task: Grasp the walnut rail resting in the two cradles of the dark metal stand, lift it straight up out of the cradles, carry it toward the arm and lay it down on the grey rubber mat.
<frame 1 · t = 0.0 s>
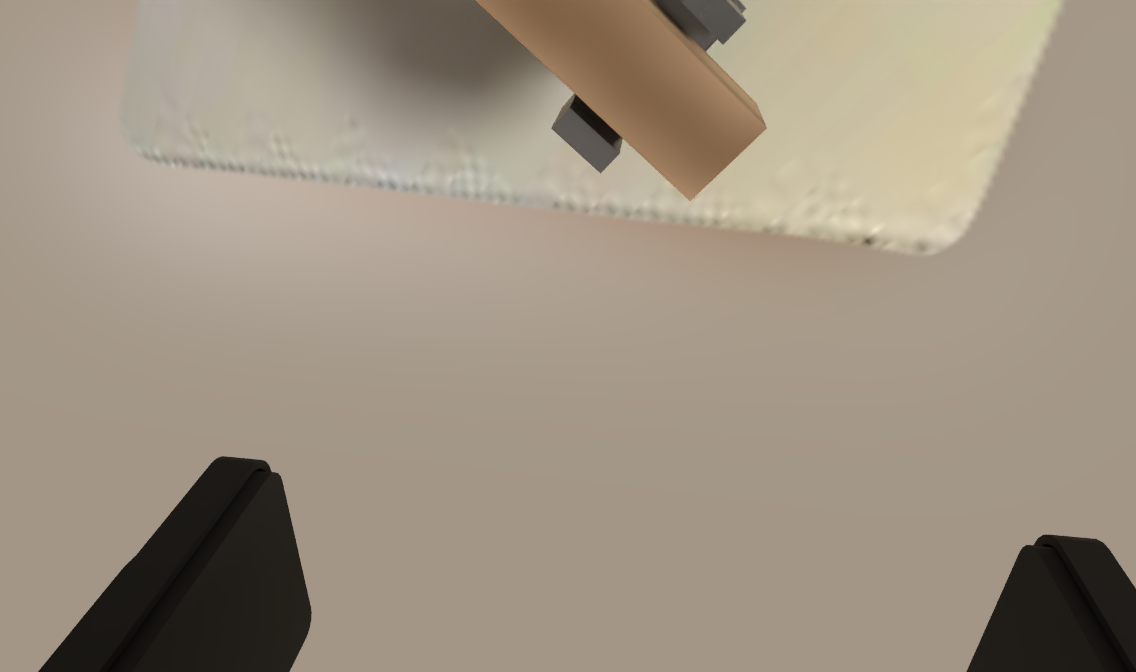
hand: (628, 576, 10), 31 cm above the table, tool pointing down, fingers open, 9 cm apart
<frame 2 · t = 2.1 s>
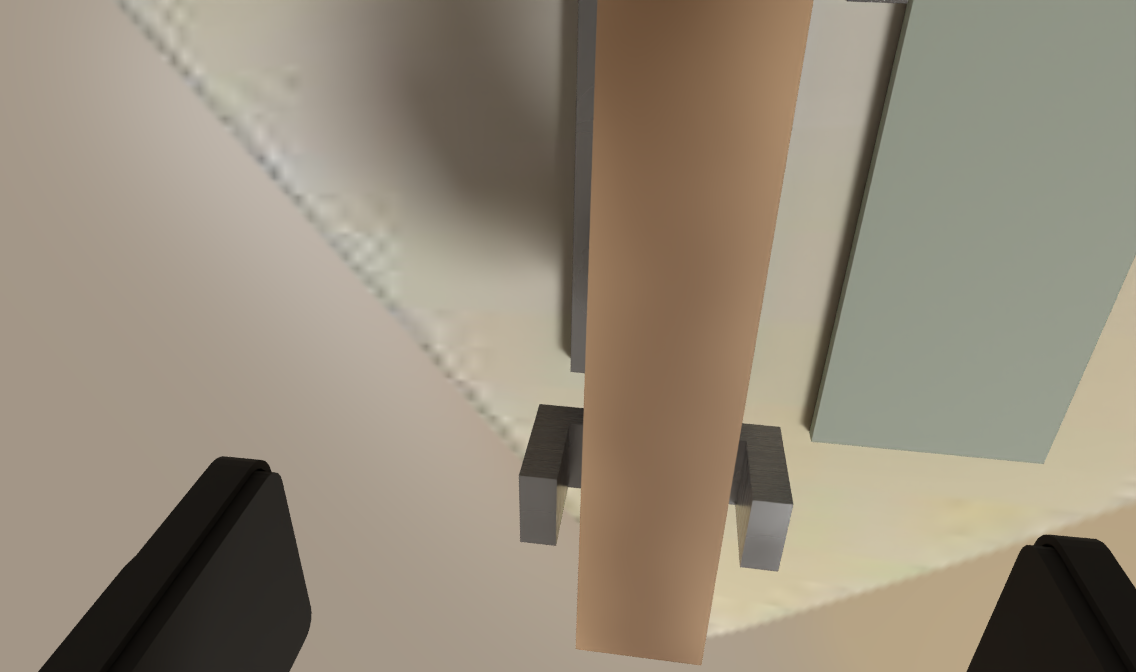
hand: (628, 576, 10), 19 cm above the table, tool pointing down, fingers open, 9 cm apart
rail: (675, 243, 18), point 9 cm above the table, touching stand
mat: (1015, 157, 25), on the table
stand: (679, 138, 26), on the table
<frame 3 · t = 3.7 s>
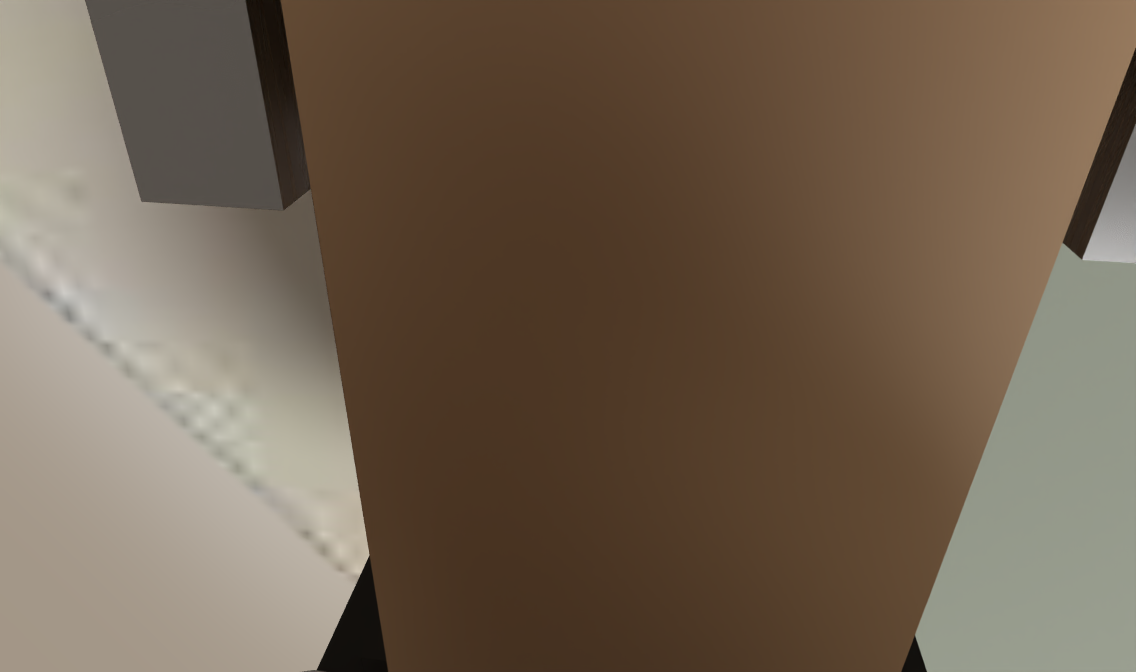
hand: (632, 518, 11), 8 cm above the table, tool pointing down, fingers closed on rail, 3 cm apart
rail: (628, 581, 10), point 9 cm above the table, touching gripper, stand
stand: (647, 279, 17), on the table
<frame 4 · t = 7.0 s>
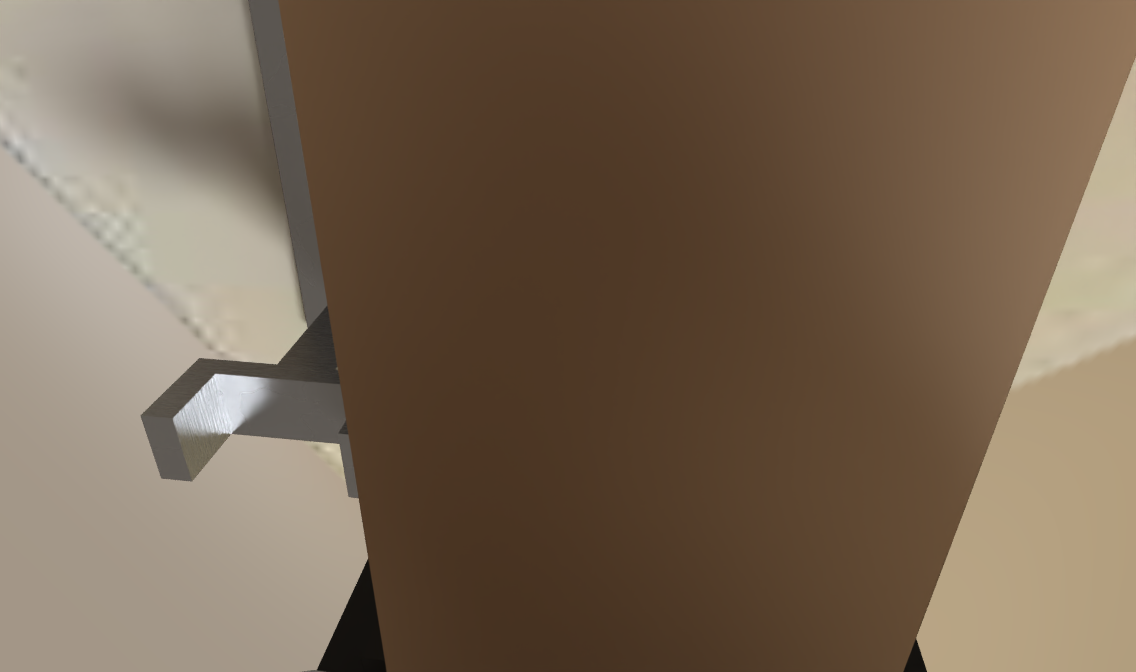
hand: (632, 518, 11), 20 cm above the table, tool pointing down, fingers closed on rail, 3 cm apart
rail: (628, 584, 10), point 21 cm above the table, touching gripper
stand: (368, 122, 29), on the table
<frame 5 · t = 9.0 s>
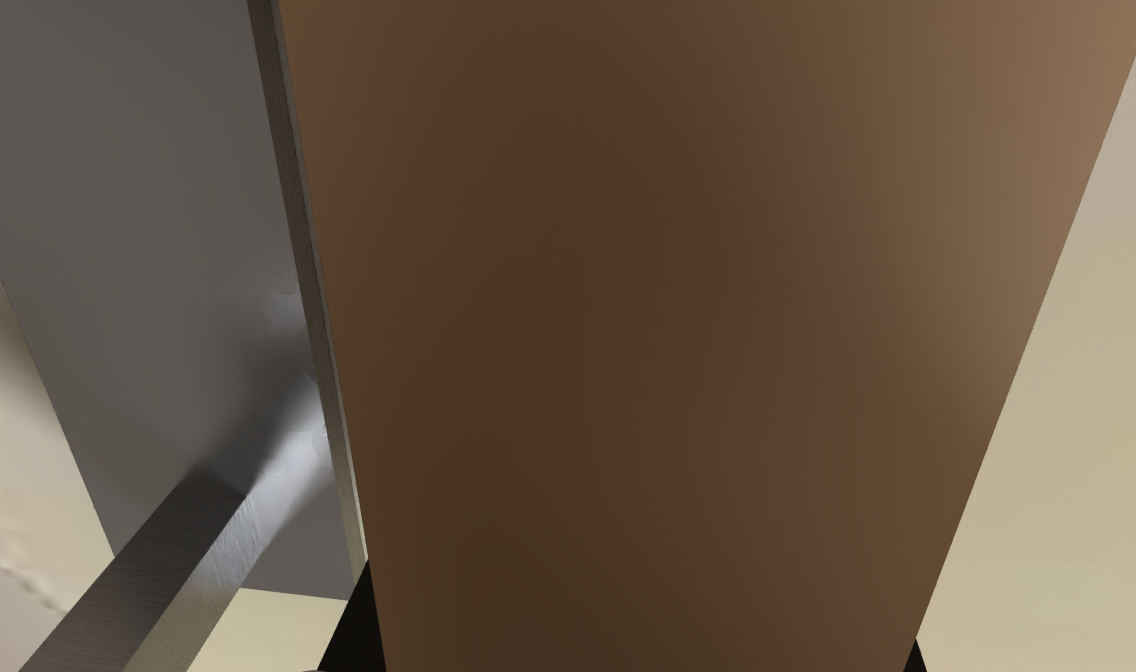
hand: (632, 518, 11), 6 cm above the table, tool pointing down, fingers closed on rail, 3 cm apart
rail: (628, 585, 10), point 7 cm above the table, touching gripper
stand: (167, 268, 17), on the table
when the fingers open (1 cm above the table, at t = 10.4 s): rail drops 2 cm, resting on mat.
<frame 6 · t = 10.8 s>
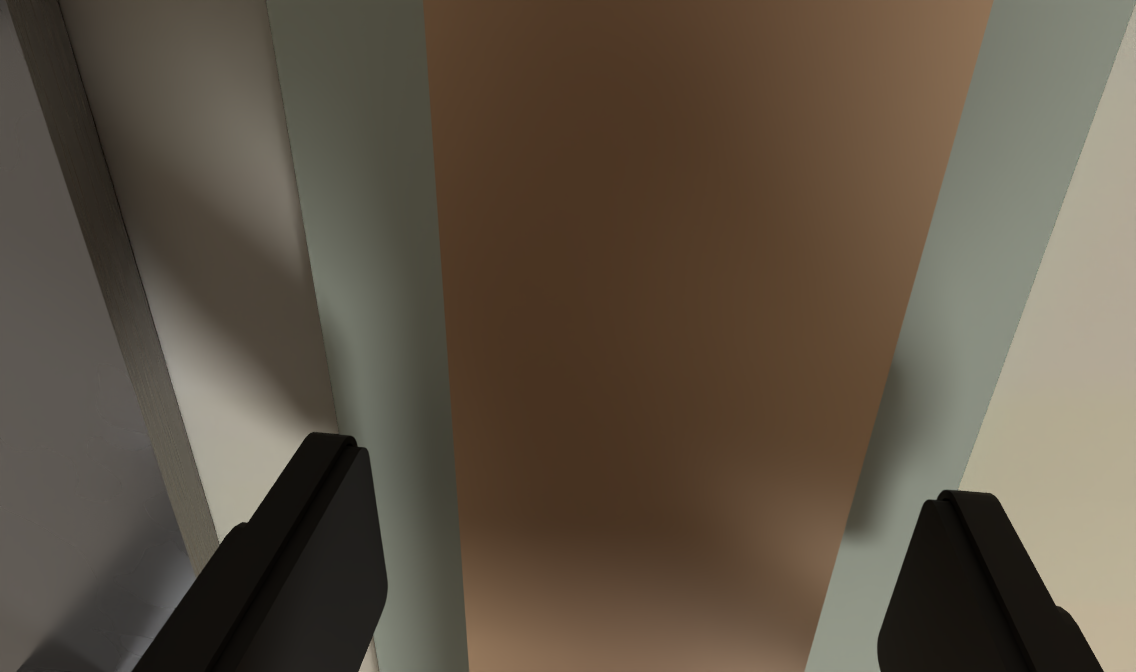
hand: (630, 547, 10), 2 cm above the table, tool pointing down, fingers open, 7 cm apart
rail: (639, 487, 11), point 1 cm above the table, touching mat
mat: (636, 462, 12), on the table
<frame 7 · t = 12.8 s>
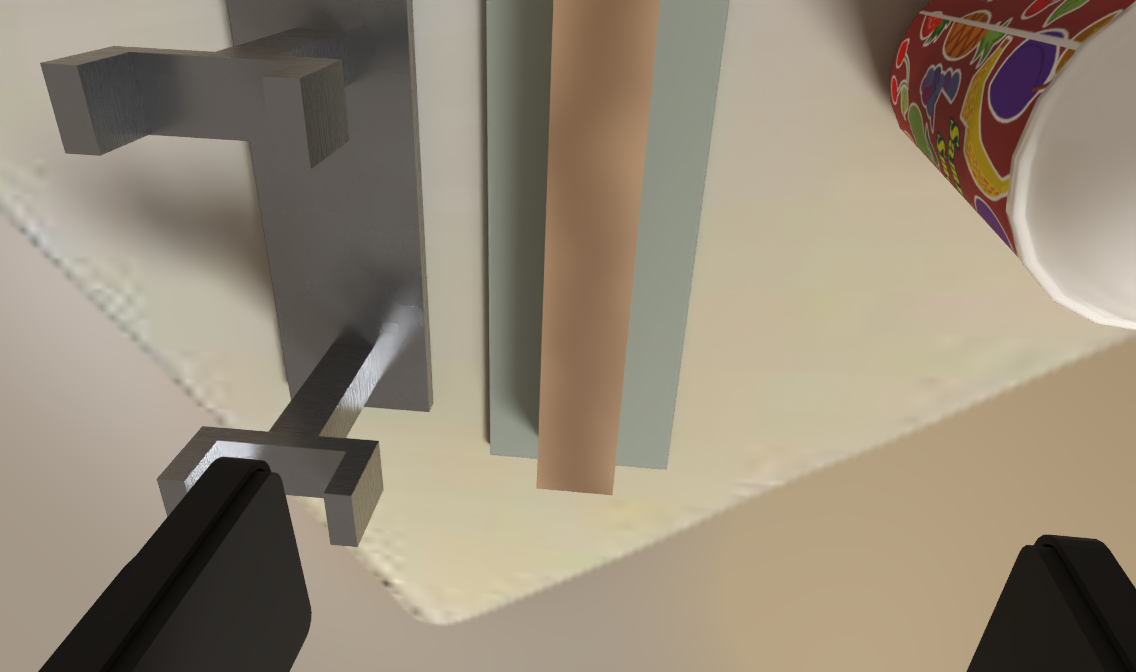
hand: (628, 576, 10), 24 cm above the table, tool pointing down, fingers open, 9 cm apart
smoothie: (970, 62, 29), on the table
rail: (593, 240, 33), point 1 cm above the table, touching mat
mat: (592, 236, 33), on the table
stand: (346, 219, 34), on the table
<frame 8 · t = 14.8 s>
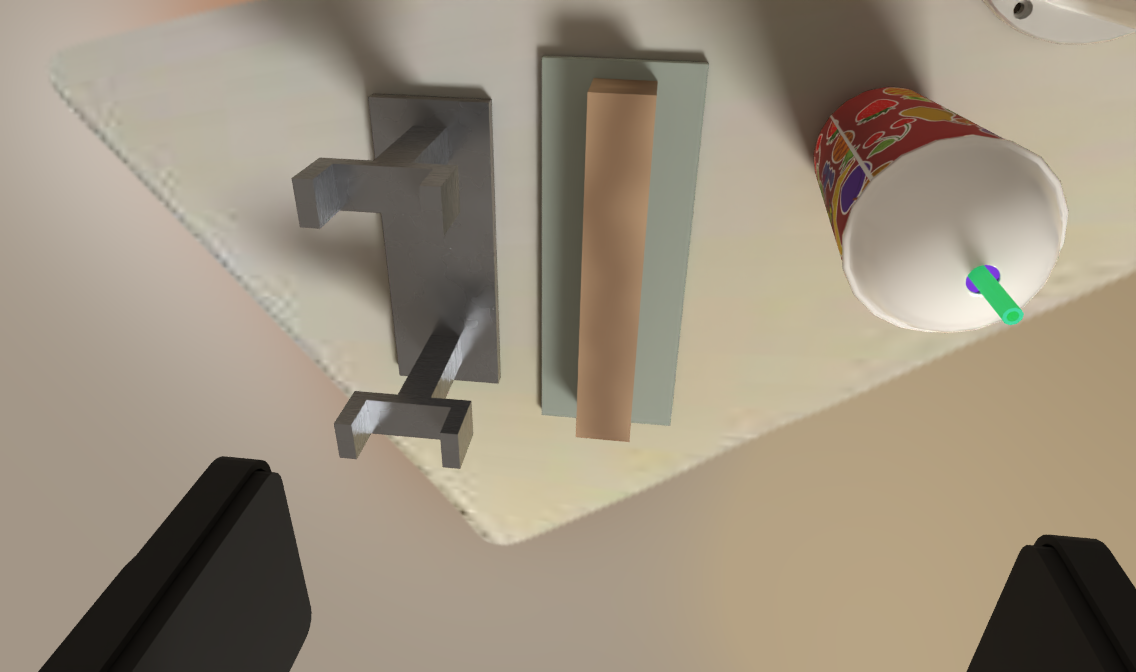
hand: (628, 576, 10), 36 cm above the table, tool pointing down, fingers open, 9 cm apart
smoothie: (872, 143, 42), on the table
rail: (614, 263, 47), point 1 cm above the table, touching mat
mat: (614, 259, 47), on the table
stand: (442, 248, 48), on the table
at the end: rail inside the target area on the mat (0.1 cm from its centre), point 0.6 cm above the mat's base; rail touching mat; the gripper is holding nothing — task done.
